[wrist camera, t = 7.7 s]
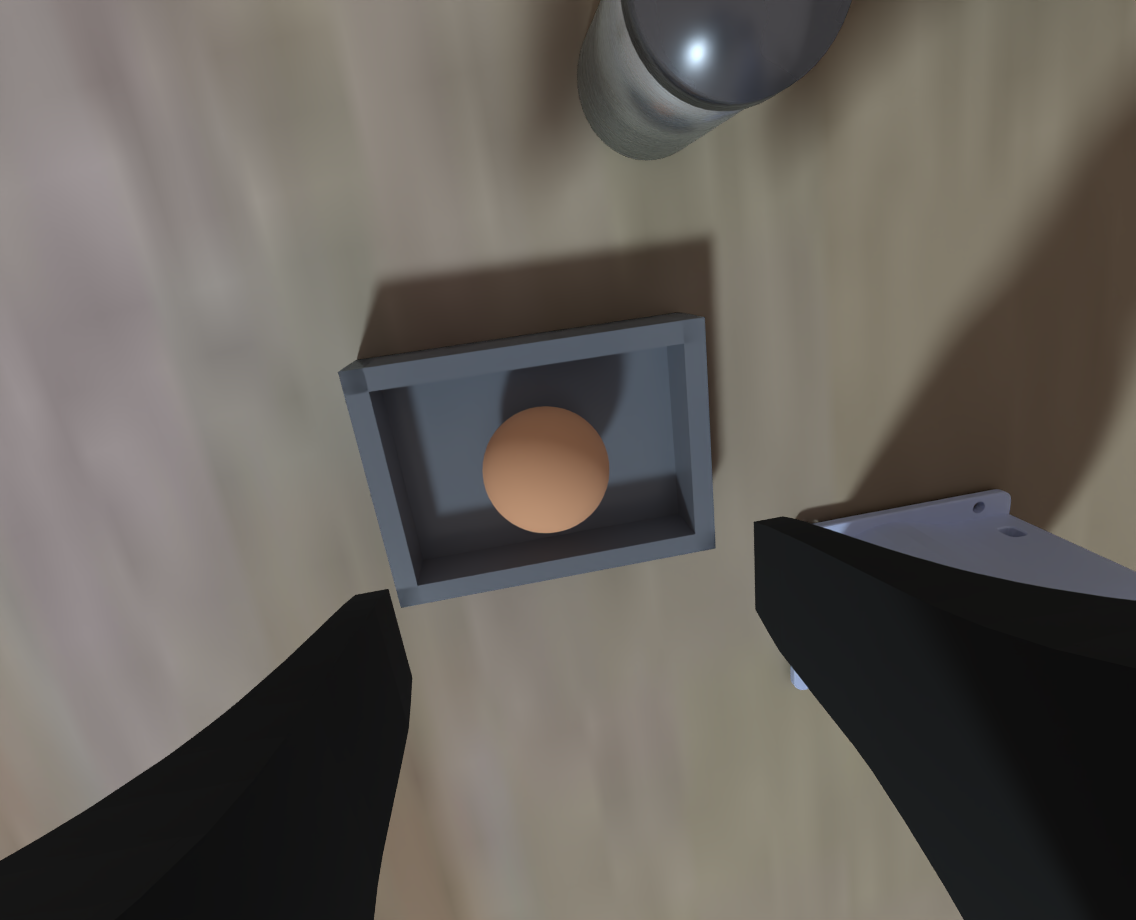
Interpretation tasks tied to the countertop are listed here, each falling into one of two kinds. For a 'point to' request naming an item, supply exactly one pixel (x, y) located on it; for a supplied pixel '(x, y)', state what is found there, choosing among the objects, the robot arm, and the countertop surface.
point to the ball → (545, 469)
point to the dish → (497, 392)
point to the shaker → (693, 65)
